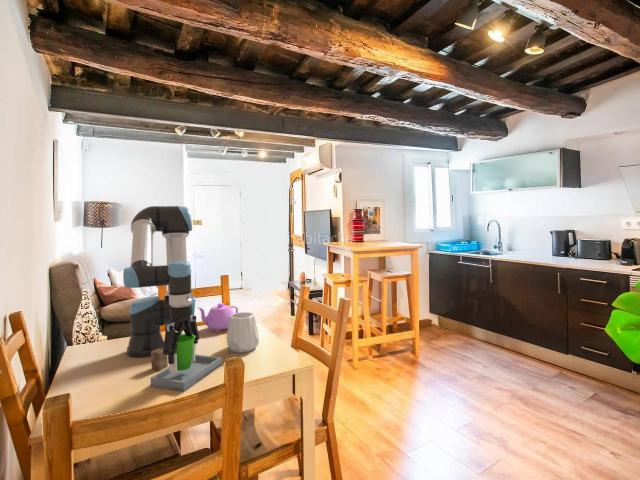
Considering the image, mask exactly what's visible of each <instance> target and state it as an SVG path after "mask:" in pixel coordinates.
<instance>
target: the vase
mask: <svg viewBox="0 0 640 480" xmlns="http://www.w3.org/2000/svg"><path fill="white" fill-rule="evenodd" d="M235 313H236V312H235ZM235 313H234V314H233V315H231V316H230V318H229V325H228V330H227V333H226V344H227V348H228V349H229V350H230V351H231V352H232V353H237V354H238V353H239V354H242V353H243V354H245V353H249V352H251V351H253V350H255V349H256V348H257V347H258V345H259V342H260V340H259V339H260V338H259V331H258V326H257V322H256V317H255V315H254V314H253V312H238V313H236V314H235Z"/></svg>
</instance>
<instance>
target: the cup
mask: <svg viewBox="0 0 640 480" xmlns="http://www.w3.org/2000/svg"><path fill="white" fill-rule="evenodd" d="M195 337H196V336H195V335H193V334H192V336H191V337H188V336H186V334H185V333H183V334H181V335H180V336H179V340H178V342H176V343H177V347H176V351H175V354H177V370H178V371H182V370H187V369H189V368H190V366H191V360H192V352H193V345H194V339H195Z"/></svg>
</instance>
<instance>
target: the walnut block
mask: <svg viewBox="0 0 640 480" xmlns="http://www.w3.org/2000/svg"><path fill="white" fill-rule="evenodd" d="M150 358H151V359H150V360H151V362H150V364H151V370H153V371H158V372H161V371H163V370H165V369H167V368H168V367H169V365H168V364H169V363H168V355H164V354H163V349H161V348H158V349H156V350H154V351H152V352H151V356H150Z"/></svg>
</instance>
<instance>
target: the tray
mask: <svg viewBox="0 0 640 480" xmlns="http://www.w3.org/2000/svg"><path fill="white" fill-rule="evenodd" d="M221 366H223V357H221V356H211V355H205V354H204V355H203V354H196V353H195V362H192V361H191V366H190V368H189V369H187V370H182V371H178V370H177V373H173V372H169V366H168V367H166V368H164V369H163V370H161V371H159V373H158V372H157V373H156V374H154V375H153V376H151V377H150V387H153V388H159V389H167V390H172V391H177V392H187V391H188V390H189V389H190V388H192V387H194V386H195V385H196V384H198V383H199V382H201V381H202V380H204V378H206V377H207V376H209V375H210V374H211V373H213V372H214V371H216V370H217V369H218V368H220V367H221Z"/></svg>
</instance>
